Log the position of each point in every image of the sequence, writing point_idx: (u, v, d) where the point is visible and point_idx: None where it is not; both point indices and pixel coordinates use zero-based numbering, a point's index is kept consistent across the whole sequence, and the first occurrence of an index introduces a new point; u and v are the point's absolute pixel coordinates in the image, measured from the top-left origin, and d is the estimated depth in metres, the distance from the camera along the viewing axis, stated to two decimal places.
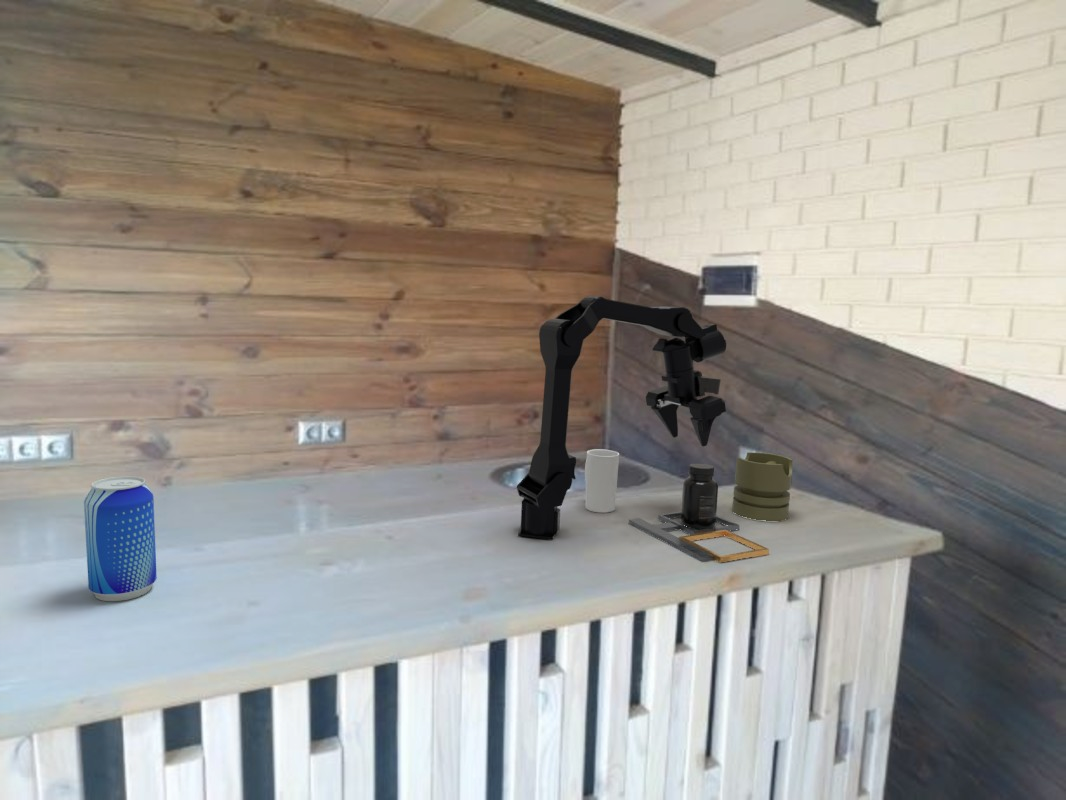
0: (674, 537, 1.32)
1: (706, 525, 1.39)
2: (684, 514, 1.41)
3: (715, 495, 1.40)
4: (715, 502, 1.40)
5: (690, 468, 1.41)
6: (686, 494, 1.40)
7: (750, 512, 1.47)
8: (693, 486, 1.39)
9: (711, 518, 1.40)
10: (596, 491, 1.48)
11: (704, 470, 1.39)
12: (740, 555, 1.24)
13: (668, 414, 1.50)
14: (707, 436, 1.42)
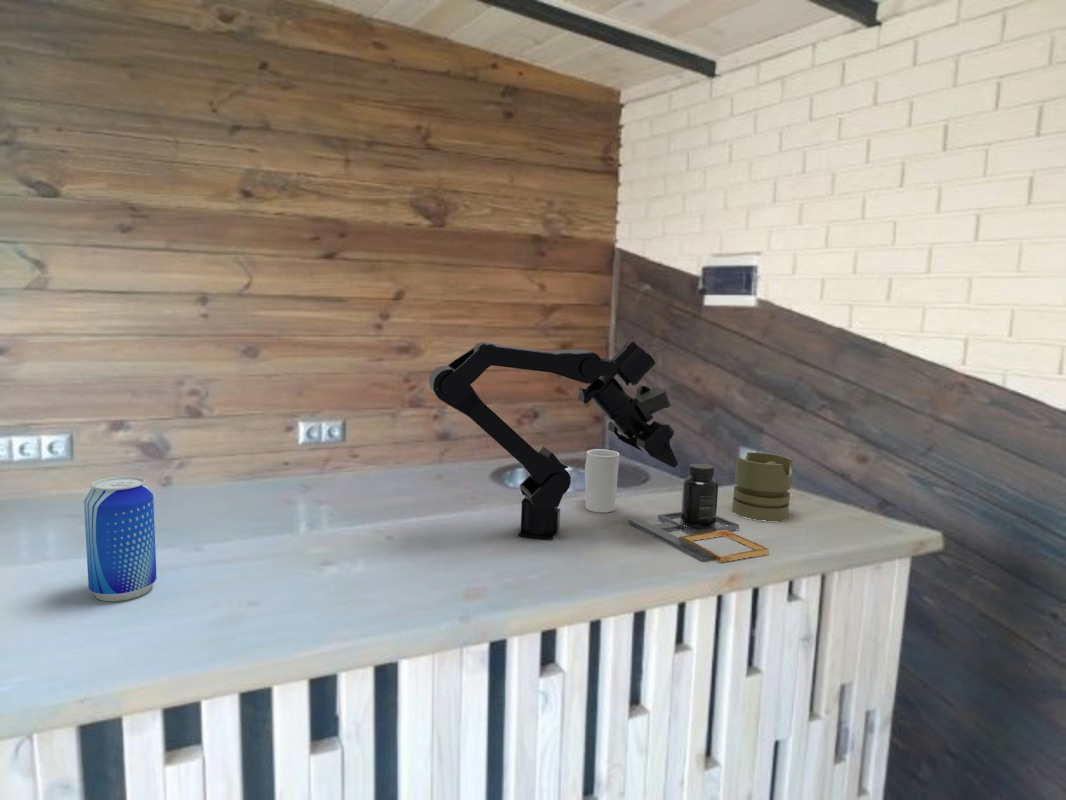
0: (674, 537, 1.32)
1: (706, 525, 1.39)
2: (684, 514, 1.41)
3: (715, 495, 1.40)
4: (715, 502, 1.40)
5: (690, 468, 1.41)
6: (686, 494, 1.40)
7: (750, 512, 1.47)
8: (693, 486, 1.39)
9: (711, 518, 1.40)
10: (596, 491, 1.48)
11: (704, 470, 1.39)
12: (740, 555, 1.24)
13: (635, 438, 1.42)
14: (672, 457, 1.33)
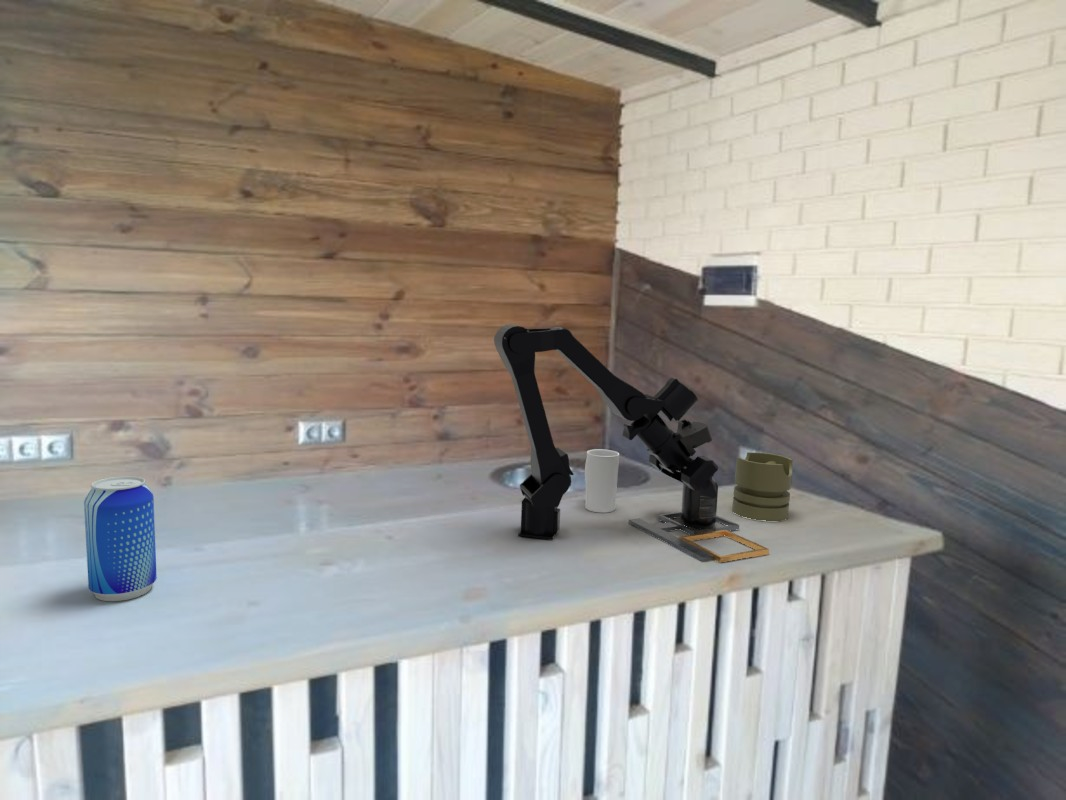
0: (674, 537, 1.32)
1: (706, 525, 1.39)
2: (684, 514, 1.41)
3: None
4: (715, 502, 1.40)
5: None
6: (686, 494, 1.40)
7: (750, 512, 1.47)
8: None
9: (711, 518, 1.40)
10: (596, 491, 1.48)
11: None
12: (740, 555, 1.24)
13: (679, 472, 1.44)
14: (712, 489, 1.38)
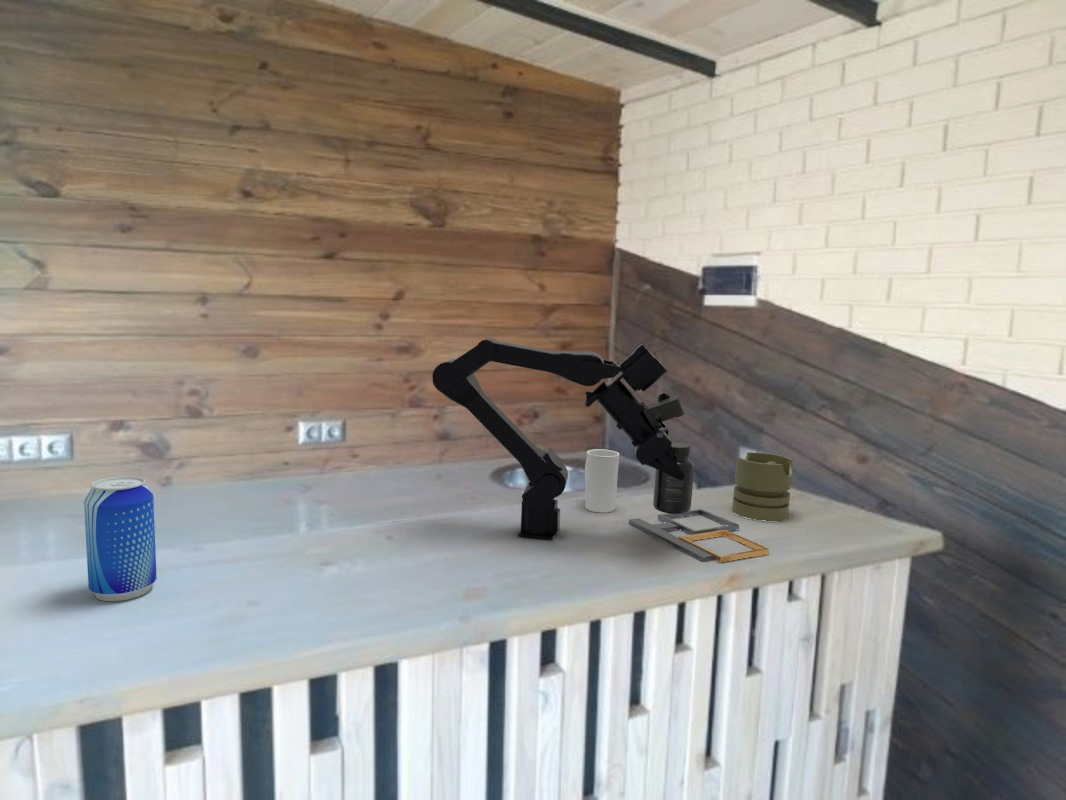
0: (674, 537, 1.32)
1: (673, 509, 1.27)
2: None
3: (685, 478, 1.26)
4: (686, 486, 1.27)
5: None
6: (655, 473, 1.29)
7: (750, 512, 1.47)
8: None
9: (679, 503, 1.27)
10: (596, 491, 1.48)
11: (673, 449, 1.26)
12: (740, 555, 1.24)
13: None
14: (677, 469, 1.25)
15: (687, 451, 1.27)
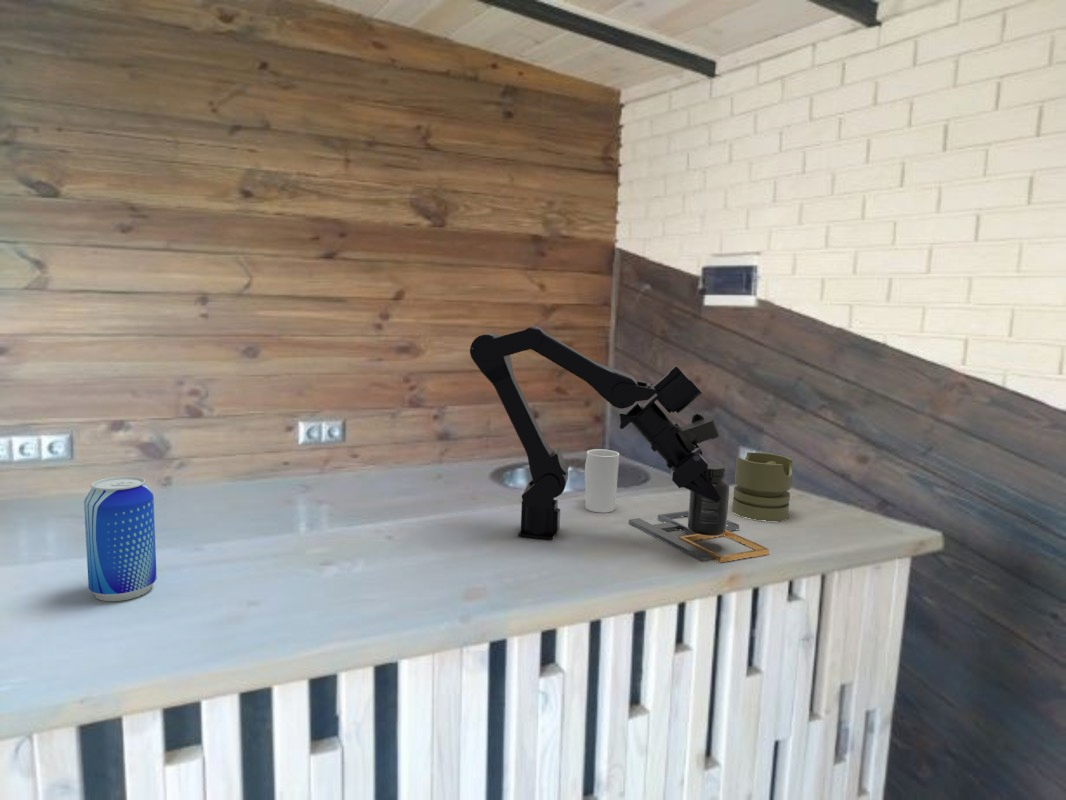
0: (674, 537, 1.32)
1: (708, 531, 1.26)
2: (688, 516, 1.30)
3: (721, 499, 1.26)
4: (722, 507, 1.26)
5: None
6: (690, 495, 1.29)
7: (750, 512, 1.47)
8: None
9: (715, 524, 1.26)
10: (596, 491, 1.48)
11: (709, 470, 1.26)
12: (740, 555, 1.24)
13: None
14: (713, 491, 1.24)
15: (722, 472, 1.27)
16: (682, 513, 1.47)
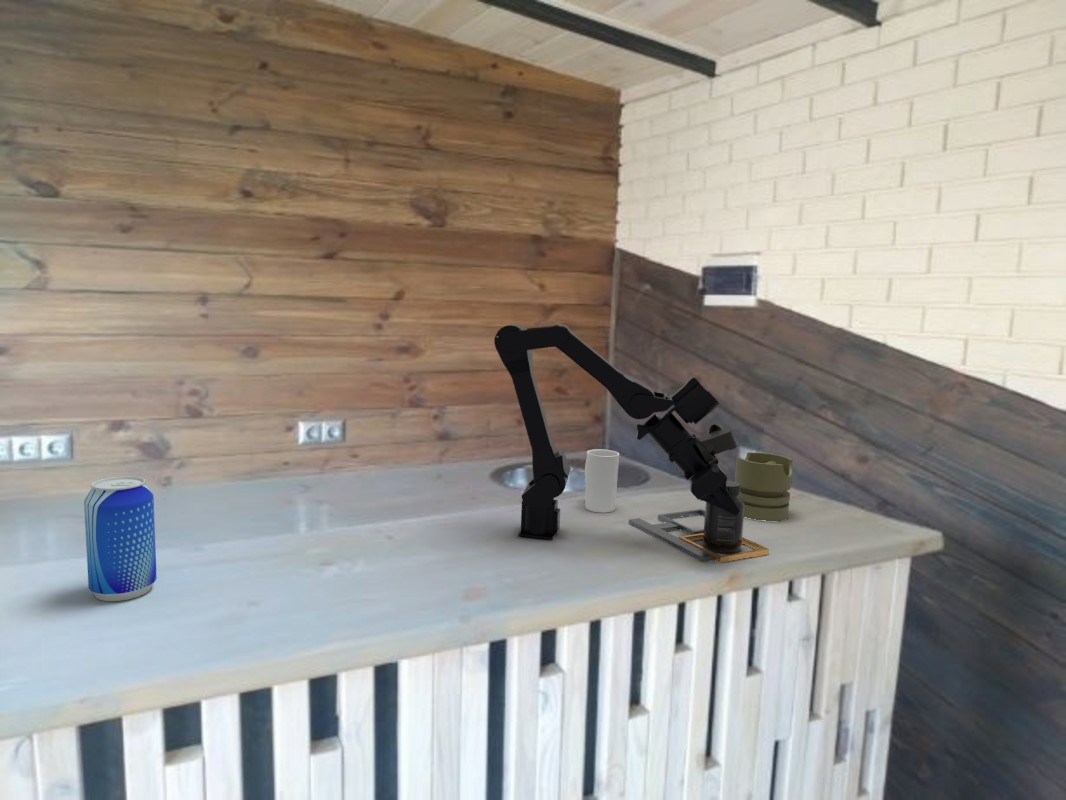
0: (674, 537, 1.32)
1: (725, 548, 1.27)
2: (704, 534, 1.30)
3: (737, 517, 1.26)
4: (738, 525, 1.27)
5: None
6: (706, 512, 1.29)
7: (750, 512, 1.47)
8: None
9: (731, 542, 1.26)
10: (596, 491, 1.48)
11: None
12: (740, 555, 1.24)
13: None
14: (732, 504, 1.23)
15: (738, 490, 1.27)
16: (682, 513, 1.47)
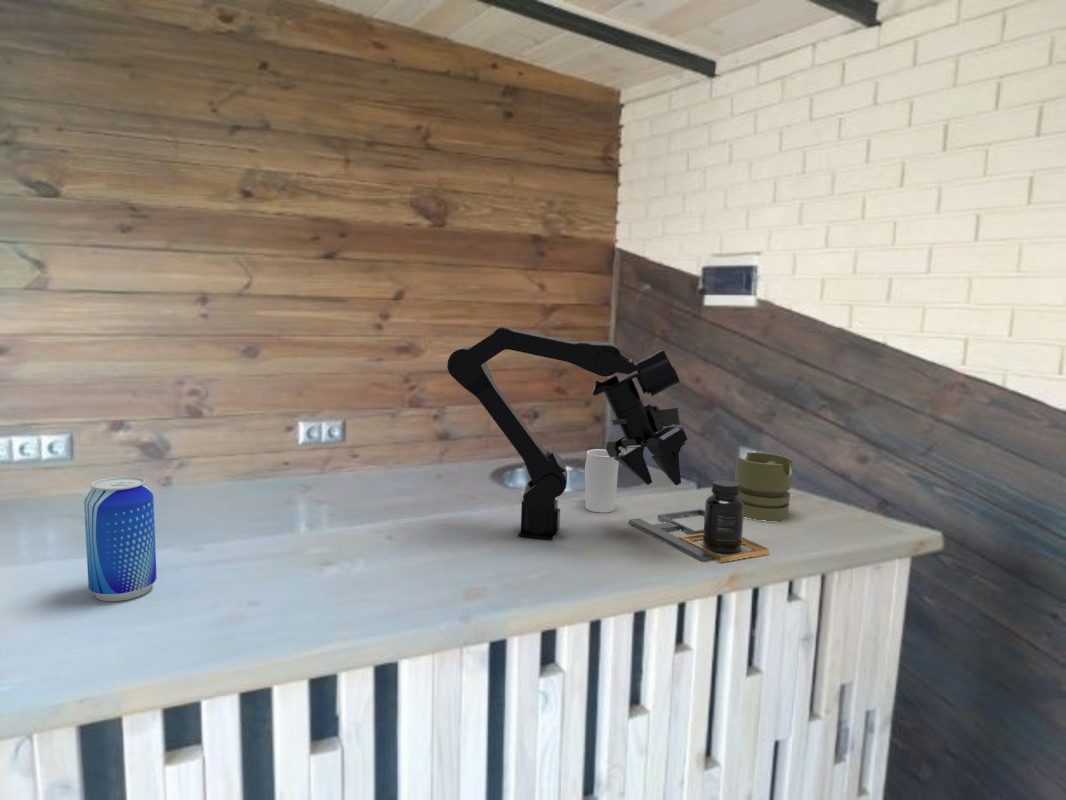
0: (674, 537, 1.32)
1: (725, 548, 1.27)
2: (704, 534, 1.30)
3: (737, 517, 1.26)
4: (738, 525, 1.27)
5: (712, 484, 1.29)
6: (705, 512, 1.29)
7: (750, 512, 1.47)
8: (712, 504, 1.27)
9: (731, 542, 1.26)
10: (596, 491, 1.48)
11: (724, 488, 1.26)
12: (740, 555, 1.24)
13: (634, 460, 1.35)
14: (678, 472, 1.26)
15: (737, 490, 1.27)
16: (682, 513, 1.47)
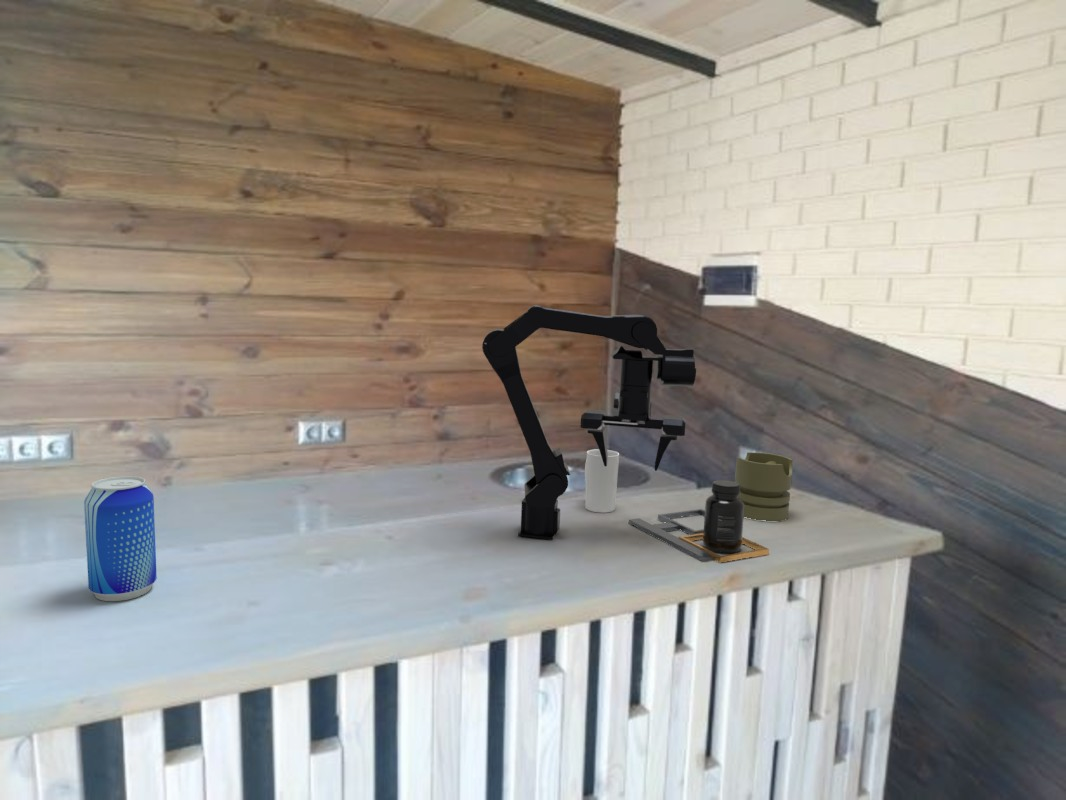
0: (674, 537, 1.32)
1: (725, 548, 1.27)
2: (704, 534, 1.30)
3: (737, 517, 1.26)
4: (738, 525, 1.27)
5: (712, 484, 1.29)
6: (705, 512, 1.29)
7: (750, 512, 1.47)
8: (712, 504, 1.27)
9: (731, 542, 1.26)
10: (596, 491, 1.48)
11: (724, 488, 1.26)
12: (740, 555, 1.24)
13: (605, 438, 1.32)
14: None
15: (738, 490, 1.27)
16: (682, 513, 1.47)
